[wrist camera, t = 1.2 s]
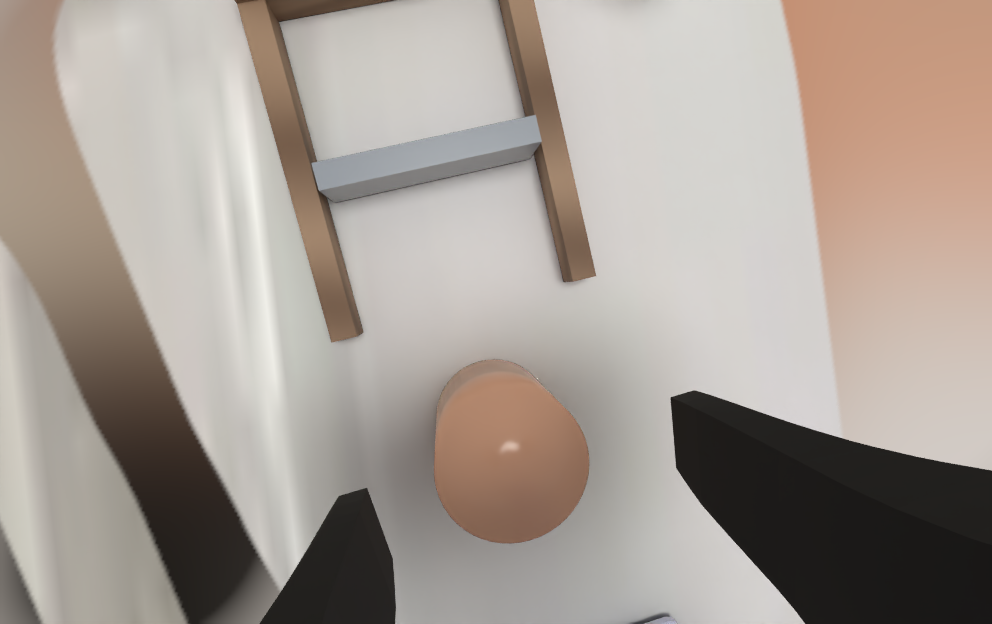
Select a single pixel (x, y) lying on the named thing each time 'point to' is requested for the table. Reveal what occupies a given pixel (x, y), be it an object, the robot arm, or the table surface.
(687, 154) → the table surface
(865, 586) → the robot arm
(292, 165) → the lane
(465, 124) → the table surface
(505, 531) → the terracotta jar
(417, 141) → the plate
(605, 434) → the table surface
